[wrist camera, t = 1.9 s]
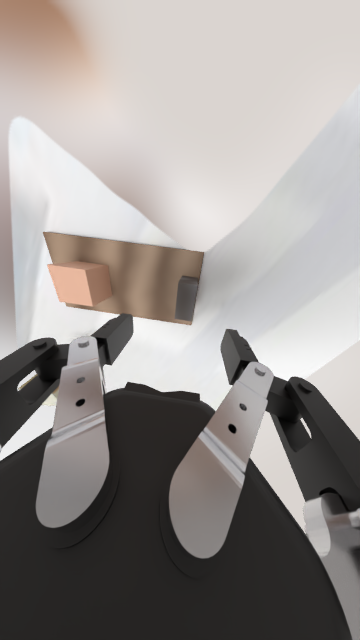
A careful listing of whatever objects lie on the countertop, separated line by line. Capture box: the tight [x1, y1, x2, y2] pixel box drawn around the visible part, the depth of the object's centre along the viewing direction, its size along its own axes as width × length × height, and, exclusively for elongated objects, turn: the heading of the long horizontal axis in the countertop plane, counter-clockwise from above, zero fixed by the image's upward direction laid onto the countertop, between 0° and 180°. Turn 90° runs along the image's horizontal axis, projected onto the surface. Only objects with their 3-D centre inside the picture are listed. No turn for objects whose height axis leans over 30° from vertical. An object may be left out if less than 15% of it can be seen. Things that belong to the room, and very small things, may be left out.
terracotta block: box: [47, 261, 112, 307], centre depth 20 cm, size 5×5×5 cm
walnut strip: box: [43, 232, 204, 325], centre depth 20 cm, size 24×12×6 cm, turn 84°
